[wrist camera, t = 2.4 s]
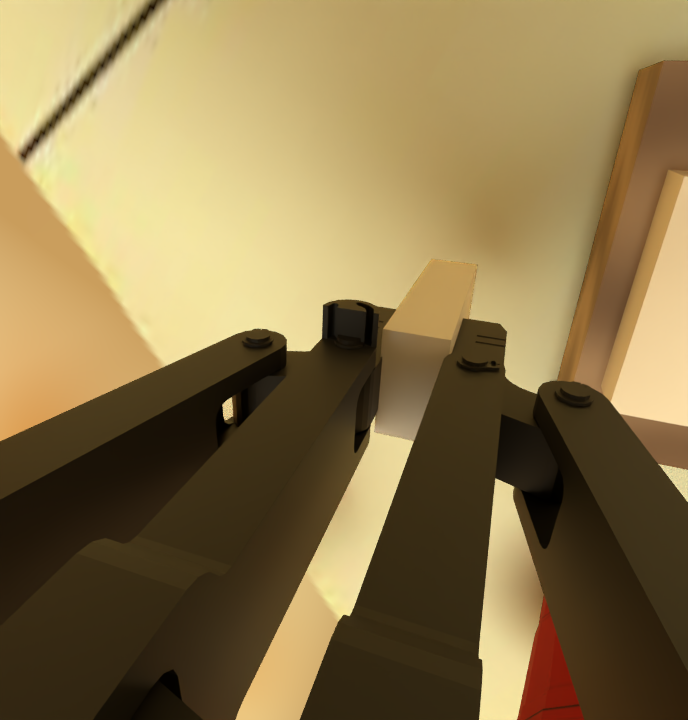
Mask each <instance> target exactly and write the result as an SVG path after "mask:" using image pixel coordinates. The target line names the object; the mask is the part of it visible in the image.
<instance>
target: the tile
mask: <svg viewBox="0 0 688 720" xmlns="http://www.w3.org/2000/svg"><path fill="white" fill-rule="evenodd" d="M601 388H602V392H603V395H604V396H605V397H606V398H607V399H609V401H610V402H611V403H612V405H613V406H614V407H615V408H616V410H617V411H618V412H619V414H623V415H629V416H634V417H639V418H645V419H650V420H655V421H661V422H666V423H671V424H677V425H682V426H688V171H681V170H668V172H667V175H666V178H665V182H664V185H663V188H662V191H661V194H660V198H659V201H658V204H657V207H656V210H655V214H654V217H653V220H652V223H651V227H650V230H649V233H648V236H647V239H646V243H645V246H644V249H643V252H642V255H641V259H640V262H639V265H638V268H637V272H636V275H635V278H634V281H633V284H632V288H631V291H630V294H629V297H628V300H627V304H626V307H625V310H624V313H623V316H622V320H621V323H620V326H619V329H618V333H617V336H616V339H615V342H614V345H613V349H612V352H611V355H610V358H609V361H608V365H607V368H606V371H605V374H604V378H603V381H602V384H601Z"/></svg>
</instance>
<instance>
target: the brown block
mask: <svg viewBox="0 0 688 720" xmlns="http://www.w3.org/2000/svg"><path fill="white" fill-rule="evenodd" d="M668 170H681V171H688V61H662V62H659V63H657V64H654V65H651V66H649V67H646V68H644V69H641V70H639V73H638V77H637V80H636V84H635V88H634V92H633V96H632V99H631V103H630V107H629V111H628V115H627V118H626V122H625V126H624V130H623V133H622V137H621V141H620V145H619V149H618V152H617V156H616V160H615V164H614V167H613V171H612V175H611V179H610V183H609V186H608V190H607V194H606V198H605V201H604V205H603V209H602V213H601V217H600V220H599V224H598V228H597V232H596V235H595V239H594V243H593V247H592V251H591V254H590V258H589V262H588V266H587V270H586V273H585V277H584V281H583V285H582V288H581V292H580V296H579V300H578V304H577V307H576V311H575V315H574V319H573V322H572V326H571V330H570V334H569V338H568V341H567V345H566V349H565V353H564V356H563V360H562V364H561V368H560V372H559V375H558V379H557V381H568V382H572V381H575V382H579V383H581V384H585V385H588V386H590V387H591V388H593V389H595V390H596V391H598V392H600V393H602V394H603V392H602V388H601V384H602V381H603V378H604V374H605V371H606V368H607V365H608V361H609V358H610V355H611V352H612V349H613V345H614V342H615V339H616V336H617V333H618V329H619V326H620V323H621V320H622V316H623V313H624V310H625V307H626V304H627V300H628V297H629V294H630V291H631V288H632V284H633V281H634V278H635V275H636V272H637V268H638V265H639V262H640V259H641V255H642V252H643V249H644V246H645V243H646V239H647V236H648V233H649V230H650V227H651V223H652V220H653V217H654V214H655V210H656V207H657V204H658V201H659V198H660V194H661V191H662V188H663V185H664V182H665V178H666V175H667V172H668ZM620 415H621V416H622V418H623V419H624V420H625V421H626V423H627V424H628V425H629V427H630V428H631V429H632V431H633V432H634V433H635V434H636V436H637V437H638V438H639V440H640V441H641V442H642V444H643V445H644V446H645V447H646V449H647V450H648V451H649V453H650V454H651V455H652V457H653V458H654V459H655V461H656V462H657V463H658V464H662V465H667V466H672V467H677V468H682V469H686V470H688V426H682V425H677V424H671V423H666V422H661V421H655V420H650V419H645V418H639V417H634V416H629V415H623V414H620Z"/></svg>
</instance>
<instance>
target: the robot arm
mask: <svg viewBox="0 0 688 720" xmlns="http://www.w3.org/2000/svg"><path fill="white" fill-rule="evenodd" d="M476 272H477V265H476V264H468V263H460V262H452V261H444V260H436V259H431V261H430V262H429V264H428V265H427V267H426V268H425V269H424V271H423V272H422V274H421V275H420V277H419V278H418V279H417V281H416V282H415V284H414V285H413V287H412V288H411V289H410V291H409V292H408V294H407V295H406V297H405V298H404V300H403V301H402V302H401V304H400V305H399V307H398V308H397V310H396V309H390V308H383V307H377V306H375V305H373V304H371V303H368V302H364V301H359V300H336V301H331V302H328V303H326V304H324V305H323V327H322V339H321V340H320V341H319V342H318V343H317V344H316V345H315V346H314V348H313V349H312V350H311V351H306V352H301V351H287V339H286V338H285V337H284V336H283V335H281V334H279V333H277V332H273V331H269V330H267V329H262V330H261V329H253V330H252V331H245V332H242V333H238V334H236V335H233V336H231V337H229V338H227V339H225V340H222V341H220V342H218V343H216V344H214V345H211V346H209V347H207V348H205V349H203V350H200V351H198V352H196V353H194V354H192V355H189V356H187V357H185V358H183V359H181V360H178V361H176V362H174V363H172V364H170V365H167V366H165V367H163V368H161V369H159V370H156V371H154V372H152V373H150V374H148V375H146V376H143V377H141V378H139V379H137V380H134V381H132V382H130V383H128V384H126V385H123V386H121V387H119V388H117V389H115V390H113V391H110V392H108V393H106V394H104V395H101V396H99V397H97V398H95V399H93V400H90V401H88V402H86V403H84V404H82V405H79V406H77V407H75V408H73V409H71V410H68V411H66V412H64V413H62V414H60V415H57V416H55V417H53V418H51V419H49V420H46V421H44V422H42V423H40V424H38V425H35V426H33V427H31V428H29V429H27V430H25V431H23V432H20V433H18V434H16V435H14V436H11V437H9V438H7V439H5V440H2V441H0V720H235V719H236V716H237V713H238V711H239V708H240V706H241V704H242V701H243V699H244V697H245V695H246V693H247V691H248V689H249V687H250V685H251V683H252V681H253V679H254V677H255V675H256V673H257V671H258V669H259V667H260V664H261V663H262V660H263V658H264V656H265V654H266V652H267V650H268V648H269V646H270V644H271V642H272V640H273V638H274V636H275V634H276V632H277V629H278V627H279V626H280V624H281V622H282V620H283V617H284V615H285V613H286V611H287V609H288V607H289V605H290V603H291V601H292V599H293V597H294V595H295V593H296V591H297V589H298V587H299V585H300V583H301V581H302V579H303V577H304V575H305V572H306V570H307V568H308V566H309V564H310V562H311V560H312V558H313V556H314V554H315V552H316V550H317V548H318V546H319V544H320V542H321V540H322V538H323V536H324V534H325V532H326V530H327V527H328V525H329V523H330V521H331V519H332V517H333V515H334V513H335V511H336V509H337V507H338V505H339V503H340V501H341V499H342V497H343V495H344V493H345V491H346V489H347V487H348V484H349V482H350V480H351V478H352V476H353V474H354V472H355V470H356V468H357V466H358V464H359V462H360V460H361V458H362V456H363V454H364V452H365V450H366V448H367V446H368V444H369V438H370V426H371V423H372V421H373V419H374V417H375V415H376V418H375V429H374V432H376V433H380V434H385V435H389V436H394V437H399V438H403V439H408V440H412V441H414V443H413V445H412V448H411V451H410V454H409V457H408V459H407V462H406V465H405V468H404V470H403V473H402V476H401V479H400V481H399V484H398V487H397V490H396V493H395V495H394V498H393V501H392V504H391V506H390V509H389V512H388V515H387V518H386V520H385V523H384V526H383V529H382V531H381V534H380V537H379V540H378V542H377V545H376V548H375V551H374V554H373V556H372V559H371V562H370V565H369V567H368V570H367V573H366V576H365V578H364V581H363V584H362V587H361V590H360V592H359V595H358V598H357V601H356V603H355V606H354V608H353V611H352V613H351V615H350V616H347V615H343V616H342V618H341V619H340V620H339V622H338V624H337V626H336V628H335V631H334V633H333V635H332V637H331V640H330V642H329V645H328V648H327V650H326V653H325V655H324V658H323V661H322V663H321V666H320V668H319V671H318V674H317V676H316V679H315V681H314V684H313V687H312V689H311V692H310V695H309V697H308V700H307V702H306V705H305V708H304V710H303V713H302V715H301V718H300V720H479V712H480V700H481V688H482V671H483V669H482V660H481V659H479V656H478V654H479V641H480V630H481V620H482V609H483V599H484V589H485V578H486V568H487V558H488V547H489V537H490V526H491V516H492V506H493V495H494V485H495V478H497V479H499V480H501V481H503V482H505V483H508V484H510V485H512V486H514V490H513V499H514V502H515V506H516V509H517V512H518V515H519V518H520V521H521V524H522V527H523V530H524V534H525V537H526V540H527V543H528V546H529V549H530V552H531V555H532V558H533V562H534V565H535V568H536V571H537V574H538V577H539V580H540V583H541V586H542V590H543V593H544V596H545V599H546V602H547V605H548V608H549V611H550V614H551V618H552V621H553V624H554V627H555V630H556V633H557V636H558V639H559V642H560V646H561V649H562V652H563V655H564V658H565V661H566V664H567V667H568V670H569V674H570V677H571V680H572V683H573V686H574V689H575V692H576V695H577V698H578V702H579V705H580V708H581V711H582V714H583V717H584V720H688V502H687V501H686V500H685V498H684V497H683V496H682V494H681V493H680V492H679V490H678V489H677V488H676V487H675V485H674V484H673V483H672V481H671V480H670V479H669V477H668V476H667V475H666V474H665V472H664V471H663V470H662V468H661V467H660V466H659V464H658V463H657V462H656V461H655V459H654V458H653V457H652V455H651V454H650V453H649V451H648V450H647V449H646V447H645V446H644V445H643V444H642V442H641V441H640V440H639V438H638V437H637V436H636V434H635V433H634V432H633V431H632V429H631V428H630V427H629V425H628V424H627V423H626V421H625V420H624V419H623V418H622V416H621V415H620V414H619V412H618V411H617V410H616V408H615V407H614V406H613V405H612V403H611V402H610V401H609V399H607V398H606V397H605V396H604V395H603V394H602V393H600V392H598V391H596V390H595V389H593V388H591V387H590V386H588V385H585V384H581V383H579V382H575V381H572V382H568V381H550V382H546V383H543V384H542V385H541V386H540V387H539V388H538V392H537V394H535V393H532V392H529V391H527V390H524V389H522V388H519V387H518V386H516V385H514V384H512V383H511V382H510V381H509V380H508V379H507V378H506V377H505V367H504V356H505V346H506V336H507V331H506V330H505V329H504V328H503V327H502V326H501V325H500V324H498V323H491V322H484V321H478V320H471V319H469V314H470V308H471V302H472V296H473V290H474V284H475V278H476ZM231 397H232V403H233V417H231V418H230V419H228V420H224V418H223V407H222V404H223V403H224V402H225V401H226V400H227V399H229V398H231Z"/></svg>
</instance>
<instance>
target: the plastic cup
mask: <svg viewBox="0 0 688 720" xmlns="http://www.w3.org/2000/svg"><path fill="white" fill-rule="evenodd" d="M517 720H584V717H583V714H582V711H581V708H580V705H579V702H578V698H577V695H576V692H575V689H574V686H573V683H572V680H571V677H570V674H569V670H568V667H567V664H566V661H565V658H564V655H563V652H562V649H561V646H560V642H559V639H558V636H557V633H556V630H555V627H554V624H553V621H552V618H551V614H550V611H549V608H548V605H547V602H546V599H545V596H544V597H543V603H542V609H541V615H540V621H539V626H538V628H537V631H536V633H535V637H534V642H533V647H532V652H531V656H530V661H529V666H528V671H527V676H526V681H525V686H524V690H523V695H522V700H521V705H520V710H519V715H518V719H517Z"/></svg>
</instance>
